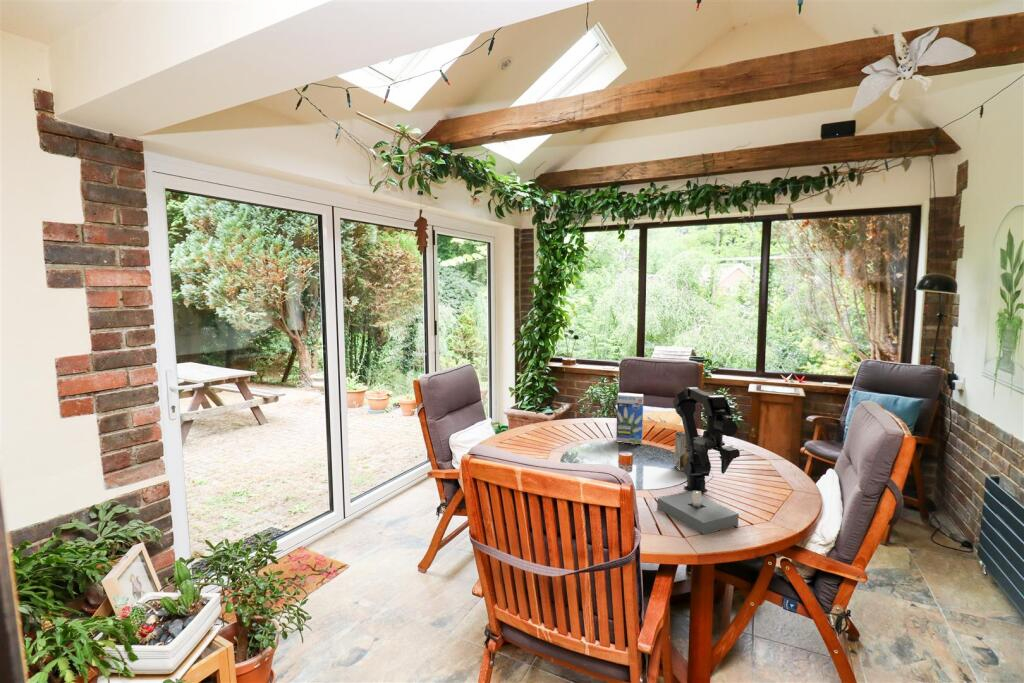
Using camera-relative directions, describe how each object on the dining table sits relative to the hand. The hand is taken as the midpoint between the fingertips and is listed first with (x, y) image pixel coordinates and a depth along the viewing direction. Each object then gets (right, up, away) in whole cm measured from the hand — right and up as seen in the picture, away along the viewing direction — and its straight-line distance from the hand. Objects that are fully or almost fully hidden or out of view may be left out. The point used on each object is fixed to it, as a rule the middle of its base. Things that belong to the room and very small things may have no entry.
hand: (713, 469), depth 187 cm
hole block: (-10, -14, -10) cm, 20 cm away
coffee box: (+3, -10, +38) cm, 39 cm away
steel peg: (-10, -14, -10) cm, 20 cm away
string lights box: (-13, -6, +78) cm, 79 cm away
